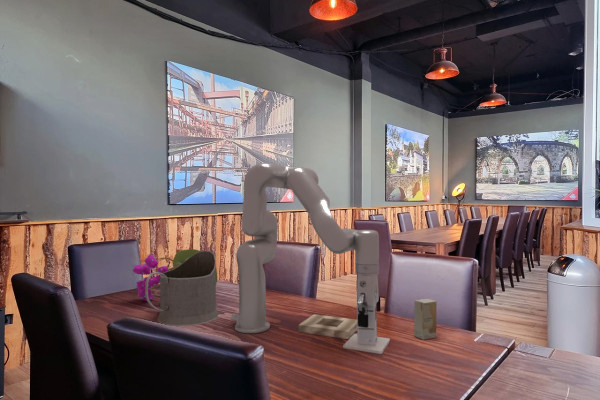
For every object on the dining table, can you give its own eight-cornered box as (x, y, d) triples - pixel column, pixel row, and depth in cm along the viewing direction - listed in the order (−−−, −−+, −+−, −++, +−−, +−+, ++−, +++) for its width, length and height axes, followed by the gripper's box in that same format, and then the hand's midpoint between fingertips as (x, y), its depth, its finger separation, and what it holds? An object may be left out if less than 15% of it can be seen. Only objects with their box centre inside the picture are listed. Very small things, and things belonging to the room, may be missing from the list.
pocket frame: (298, 331, 138) (298, 324, 138) (314, 320, 151) (314, 314, 151) (348, 339, 131) (348, 331, 131) (359, 326, 143) (359, 320, 143)
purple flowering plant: (212, 232, 196) (162, 251, 164) (229, 287, 196) (183, 316, 165) (167, 245, 208) (113, 265, 176) (184, 296, 209) (133, 325, 177)
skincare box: (423, 340, 129) (422, 303, 129) (413, 336, 133) (413, 300, 133) (437, 337, 132) (437, 300, 132) (427, 333, 136) (427, 297, 136)
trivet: (343, 347, 123) (343, 345, 123) (354, 335, 134) (354, 333, 134) (381, 354, 118) (381, 351, 118) (390, 341, 129) (390, 338, 129)
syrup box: (375, 345, 122) (375, 299, 122) (356, 344, 124) (356, 298, 124) (376, 339, 128) (376, 294, 128) (358, 338, 129) (358, 293, 129)
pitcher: (230, 313, 161) (230, 252, 161) (168, 336, 134) (168, 263, 134) (189, 306, 173) (189, 248, 173) (125, 326, 145) (124, 258, 145)
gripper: (371, 274, 116) (372, 332, 116) (384, 265, 132) (384, 316, 132) (347, 272, 120) (347, 329, 120) (362, 264, 135) (363, 314, 135)
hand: (367, 322), depth 126 cm, fingers open, 9 cm apart
